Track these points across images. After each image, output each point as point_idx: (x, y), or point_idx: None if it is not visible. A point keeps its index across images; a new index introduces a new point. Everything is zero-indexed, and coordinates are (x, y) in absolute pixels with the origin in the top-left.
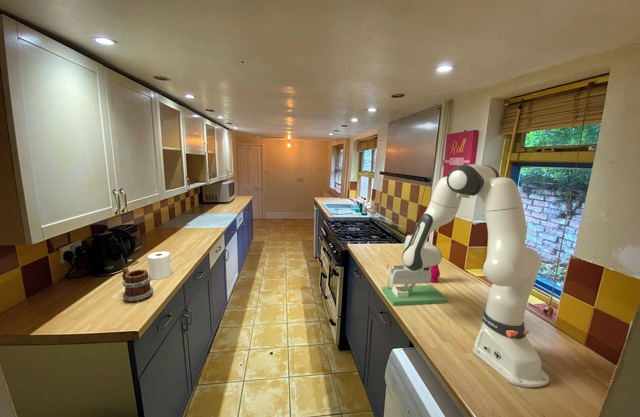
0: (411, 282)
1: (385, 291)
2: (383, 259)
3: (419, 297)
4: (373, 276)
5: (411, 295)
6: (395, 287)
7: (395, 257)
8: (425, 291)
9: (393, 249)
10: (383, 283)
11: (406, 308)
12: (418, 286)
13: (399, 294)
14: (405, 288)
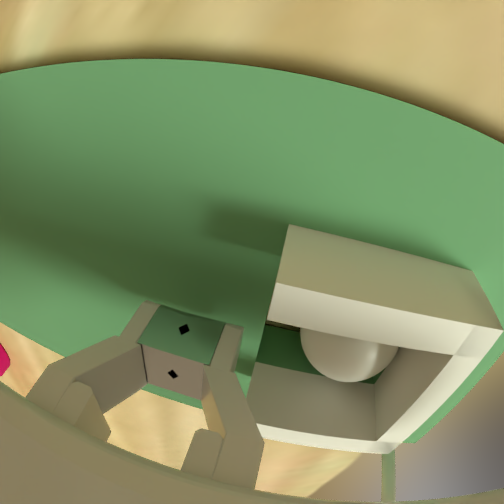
0: (103, 482)
1: (464, 395)
2: None
3: (105, 150)
4: (307, 489)
5: (201, 237)
6: (387, 431)
7: None
8: (9, 254)
9: None
10: (307, 455)
11: (461, 34)
12: (49, 341)
13: (463, 294)
14: None
